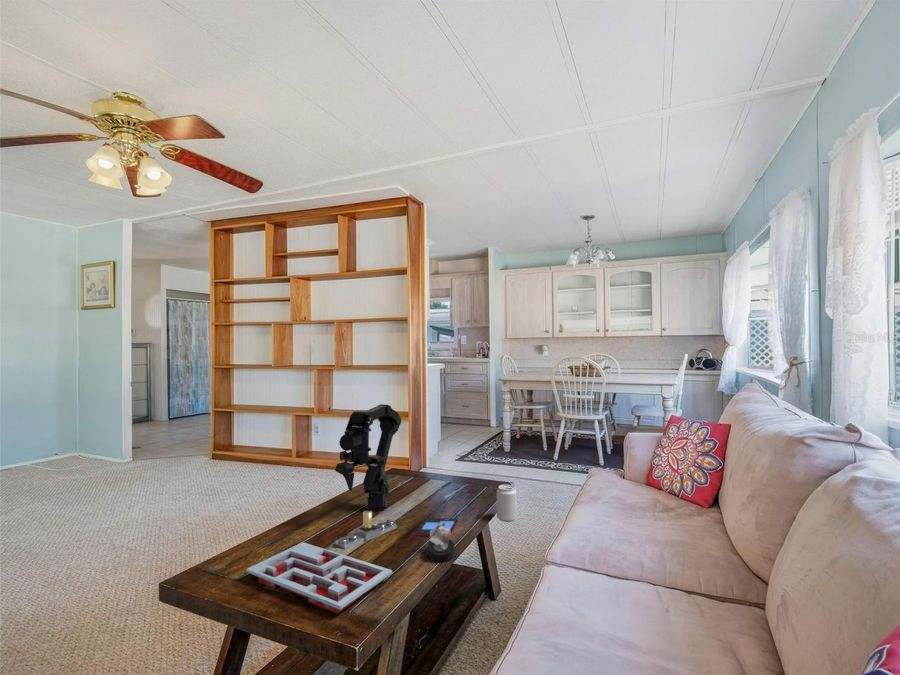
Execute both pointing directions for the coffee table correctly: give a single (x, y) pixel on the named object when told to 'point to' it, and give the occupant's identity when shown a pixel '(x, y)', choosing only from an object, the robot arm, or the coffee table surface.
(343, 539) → the studded bracket plate
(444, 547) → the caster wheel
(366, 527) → the link pin
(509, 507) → the can
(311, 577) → the maze game
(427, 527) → the game console
